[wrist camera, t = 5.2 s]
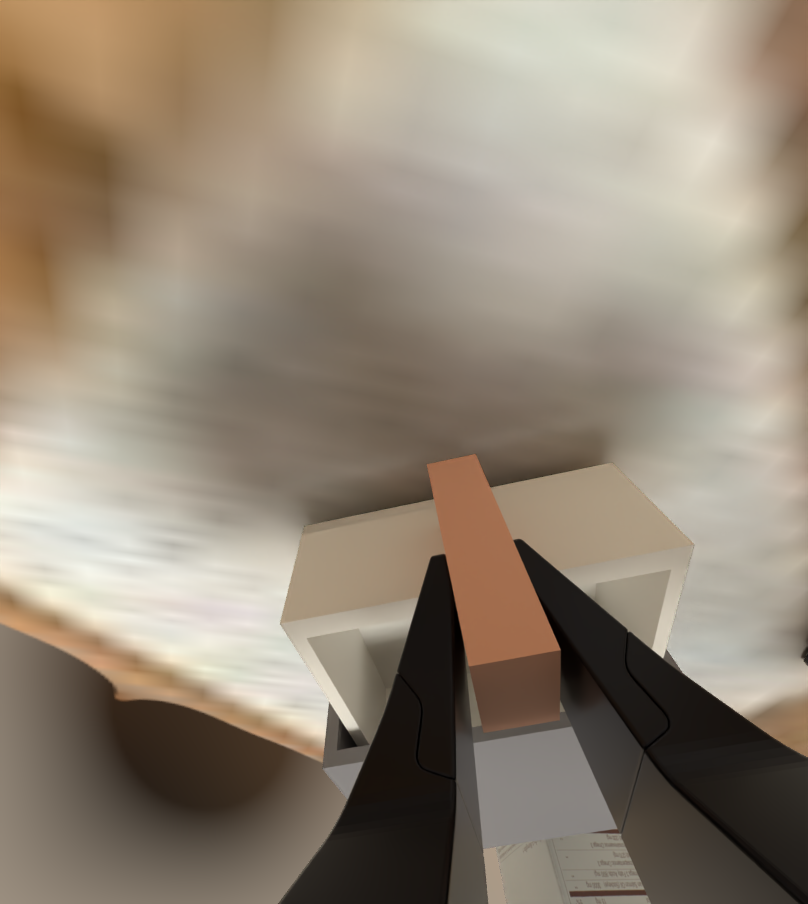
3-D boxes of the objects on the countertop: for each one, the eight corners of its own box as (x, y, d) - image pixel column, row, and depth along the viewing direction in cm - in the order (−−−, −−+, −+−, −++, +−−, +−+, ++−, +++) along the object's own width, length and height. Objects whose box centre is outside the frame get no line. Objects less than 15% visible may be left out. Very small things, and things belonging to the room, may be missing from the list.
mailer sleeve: (612, 571, 18) (704, 704, 13) (597, 700, 25) (654, 822, 20) (337, 623, 19) (322, 768, 14) (393, 735, 26) (397, 861, 21)
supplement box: (558, 779, 32) (652, 1063, 21) (479, 776, 30) (534, 1078, 20) (605, 740, 28) (746, 1056, 18) (517, 733, 27) (611, 1073, 16)
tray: (618, 400, 13) (884, 592, 6) (594, 646, 21) (700, 851, 14) (279, 473, 14) (182, 717, 7) (379, 685, 21) (380, 898, 15)
